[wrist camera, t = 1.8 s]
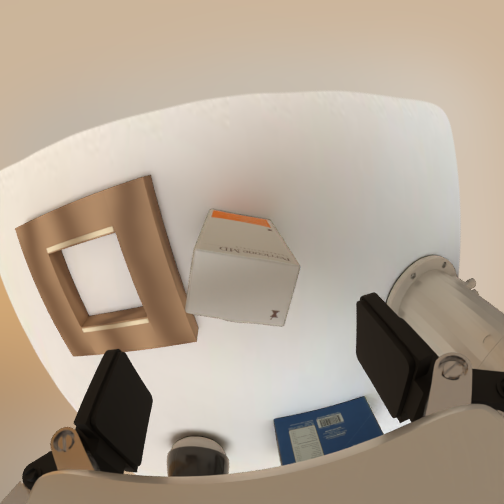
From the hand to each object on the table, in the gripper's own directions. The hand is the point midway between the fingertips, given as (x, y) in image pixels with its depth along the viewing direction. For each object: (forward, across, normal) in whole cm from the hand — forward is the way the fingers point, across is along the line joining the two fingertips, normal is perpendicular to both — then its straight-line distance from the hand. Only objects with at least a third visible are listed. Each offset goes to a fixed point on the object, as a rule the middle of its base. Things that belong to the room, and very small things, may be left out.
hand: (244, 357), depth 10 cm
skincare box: (+18, 0, 0) cm, 18 cm away
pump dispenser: (+18, +15, +34) cm, 41 cm away
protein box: (+17, -6, +35) cm, 40 cm away
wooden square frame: (+18, +15, +1) cm, 23 cm away
